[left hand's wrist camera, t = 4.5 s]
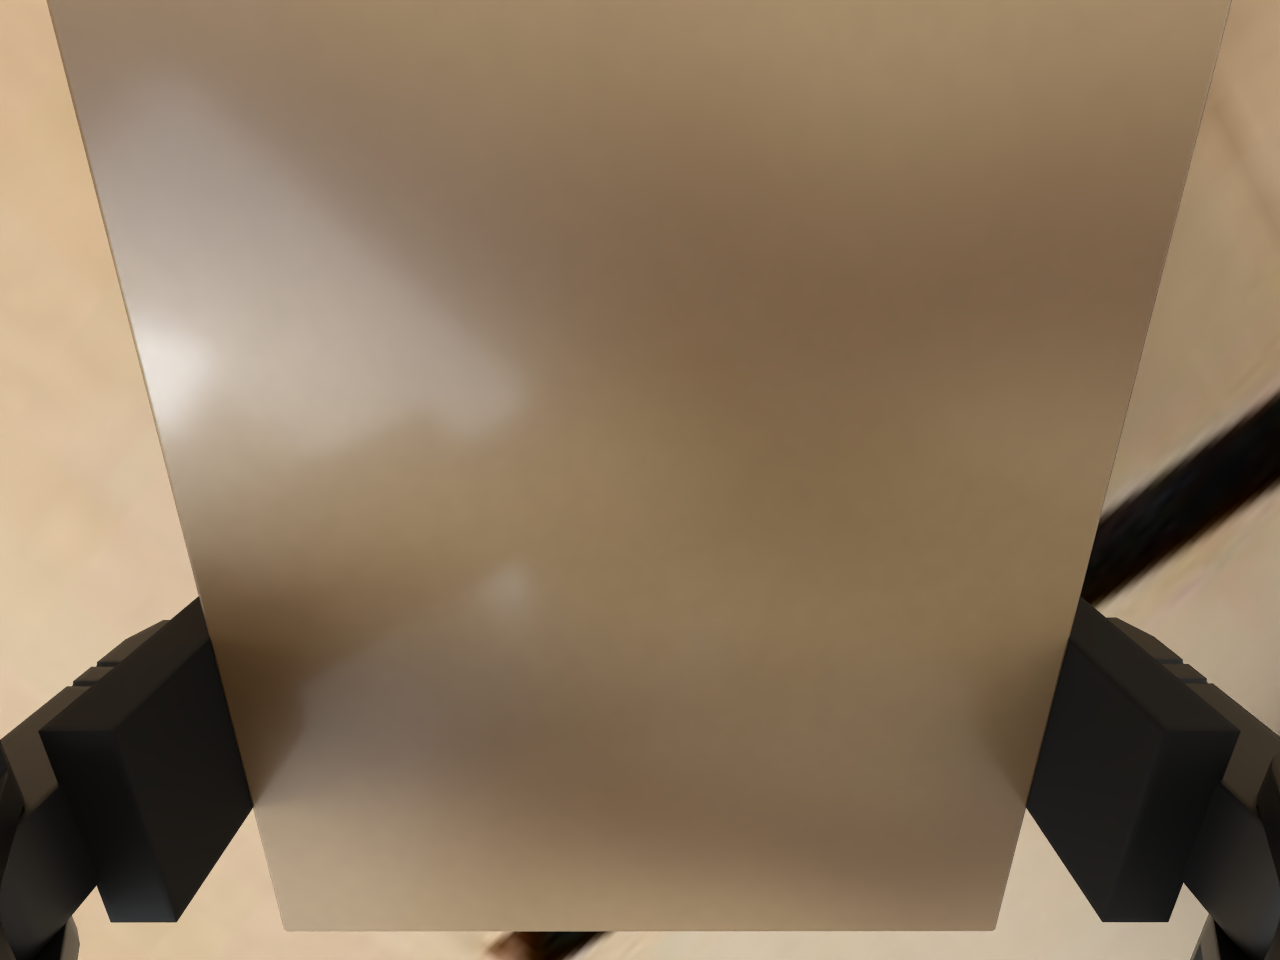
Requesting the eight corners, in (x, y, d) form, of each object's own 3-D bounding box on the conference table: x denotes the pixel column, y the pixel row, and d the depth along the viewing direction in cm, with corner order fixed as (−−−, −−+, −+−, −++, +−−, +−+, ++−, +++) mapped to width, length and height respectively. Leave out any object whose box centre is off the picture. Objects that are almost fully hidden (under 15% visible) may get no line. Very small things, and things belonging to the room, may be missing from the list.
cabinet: (355, -364, 13) (-520, -2190, 3) (923, -364, 13) (1795, -2190, 3) (456, 590, 20) (283, 933, 10) (823, 590, 20) (995, 932, 10)
